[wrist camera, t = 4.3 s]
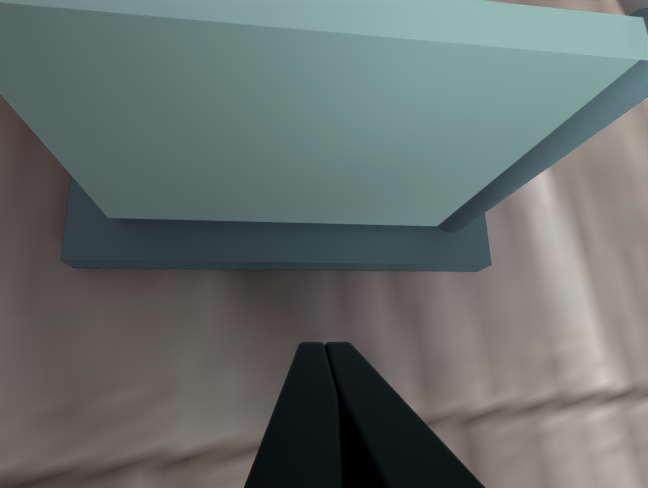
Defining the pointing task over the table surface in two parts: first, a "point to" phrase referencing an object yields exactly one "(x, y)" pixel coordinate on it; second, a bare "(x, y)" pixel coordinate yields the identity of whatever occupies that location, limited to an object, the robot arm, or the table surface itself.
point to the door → (314, 102)
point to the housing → (263, 244)
